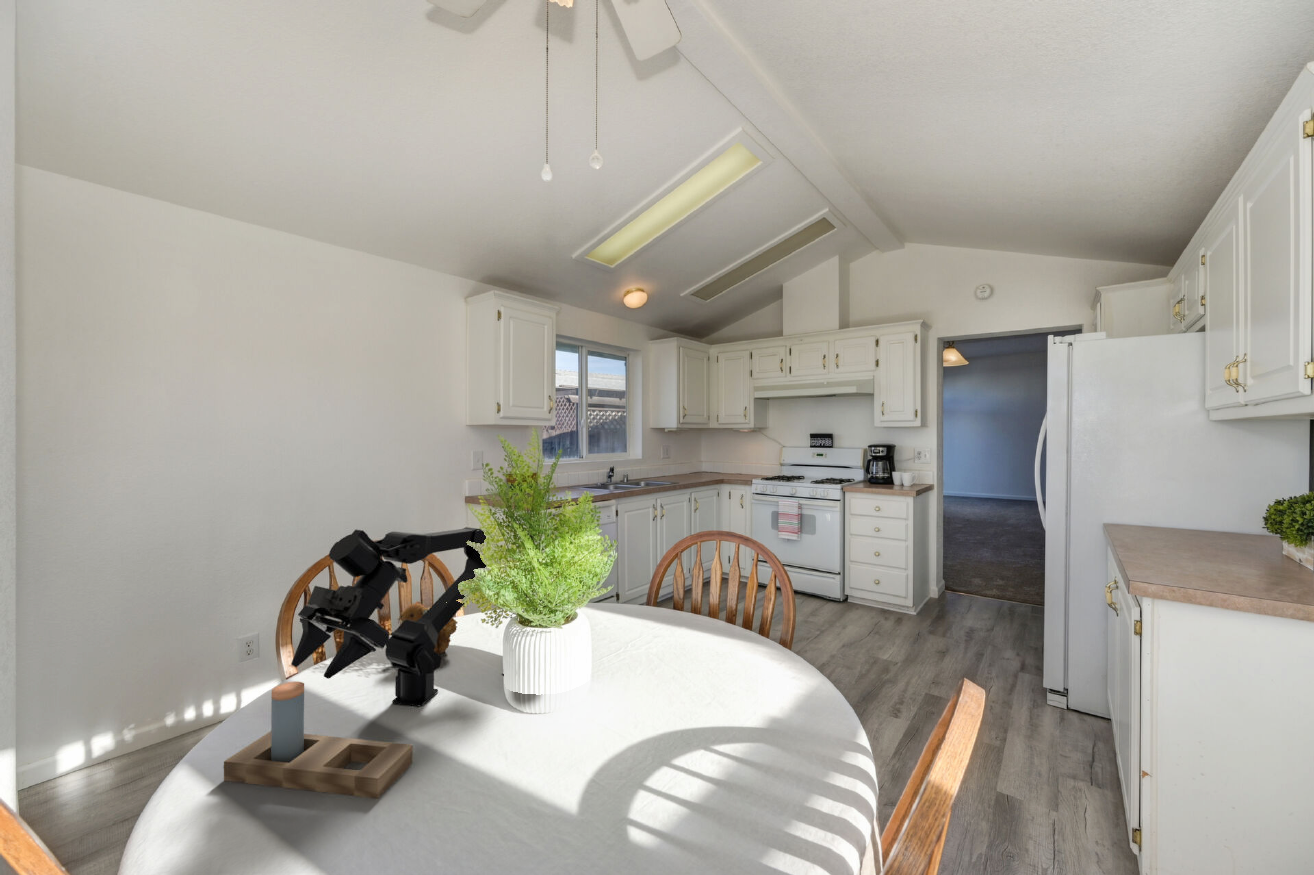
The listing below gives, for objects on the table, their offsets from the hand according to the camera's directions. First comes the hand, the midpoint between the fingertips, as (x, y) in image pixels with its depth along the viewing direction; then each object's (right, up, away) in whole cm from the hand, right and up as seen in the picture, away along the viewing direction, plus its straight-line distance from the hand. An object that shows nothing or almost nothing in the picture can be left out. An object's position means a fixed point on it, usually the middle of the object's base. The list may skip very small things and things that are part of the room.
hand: (309, 671), depth 95 cm
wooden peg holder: (+5, -14, -5) cm, 16 cm away
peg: (-1, -14, -4) cm, 14 cm away
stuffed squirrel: (+3, -13, +40) cm, 43 cm away
